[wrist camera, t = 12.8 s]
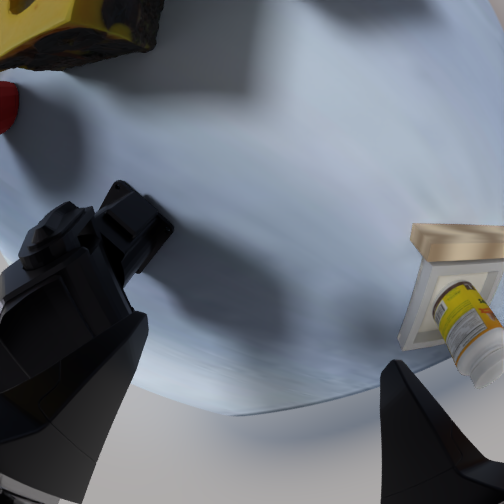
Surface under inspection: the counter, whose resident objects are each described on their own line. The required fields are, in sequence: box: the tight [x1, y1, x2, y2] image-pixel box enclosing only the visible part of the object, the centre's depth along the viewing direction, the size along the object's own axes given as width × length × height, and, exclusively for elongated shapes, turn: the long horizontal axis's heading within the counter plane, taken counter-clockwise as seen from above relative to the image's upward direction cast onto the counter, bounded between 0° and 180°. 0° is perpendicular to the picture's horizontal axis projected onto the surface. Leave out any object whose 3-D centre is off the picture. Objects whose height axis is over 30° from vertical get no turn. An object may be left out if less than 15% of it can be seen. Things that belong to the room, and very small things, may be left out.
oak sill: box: [410, 223, 504, 262], centre depth 17 cm, size 14×2×4 cm, turn 95°
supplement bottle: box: [432, 280, 504, 389], centre depth 17 cm, size 6×6×10 cm
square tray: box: [397, 257, 504, 351], centre depth 21 cm, size 10×10×2 cm
